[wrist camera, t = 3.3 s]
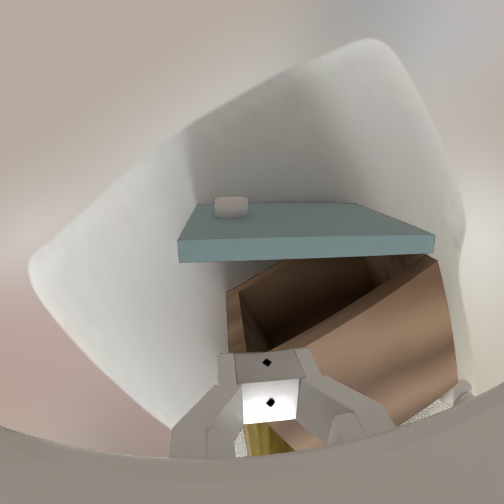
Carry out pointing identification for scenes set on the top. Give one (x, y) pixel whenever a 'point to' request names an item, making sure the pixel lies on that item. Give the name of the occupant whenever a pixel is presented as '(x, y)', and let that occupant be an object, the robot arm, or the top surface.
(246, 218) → the door
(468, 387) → the eye dropper bottle
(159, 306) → the top surface
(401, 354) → the cabinet box
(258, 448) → the vase
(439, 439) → the robot arm
